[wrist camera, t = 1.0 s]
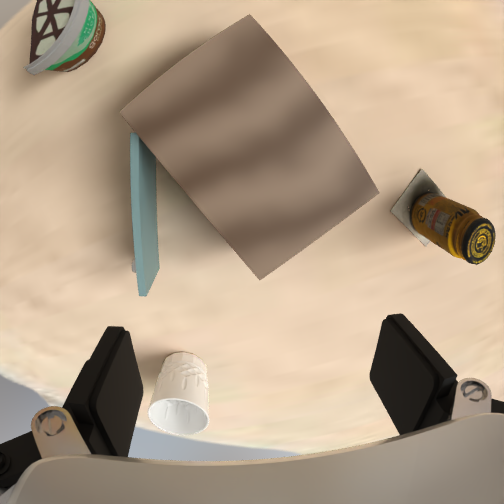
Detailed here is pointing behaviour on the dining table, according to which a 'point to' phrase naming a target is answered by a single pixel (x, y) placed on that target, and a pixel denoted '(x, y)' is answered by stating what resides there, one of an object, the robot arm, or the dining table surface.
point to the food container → (64, 35)
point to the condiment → (444, 221)
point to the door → (143, 213)
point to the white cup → (181, 395)
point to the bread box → (251, 146)
